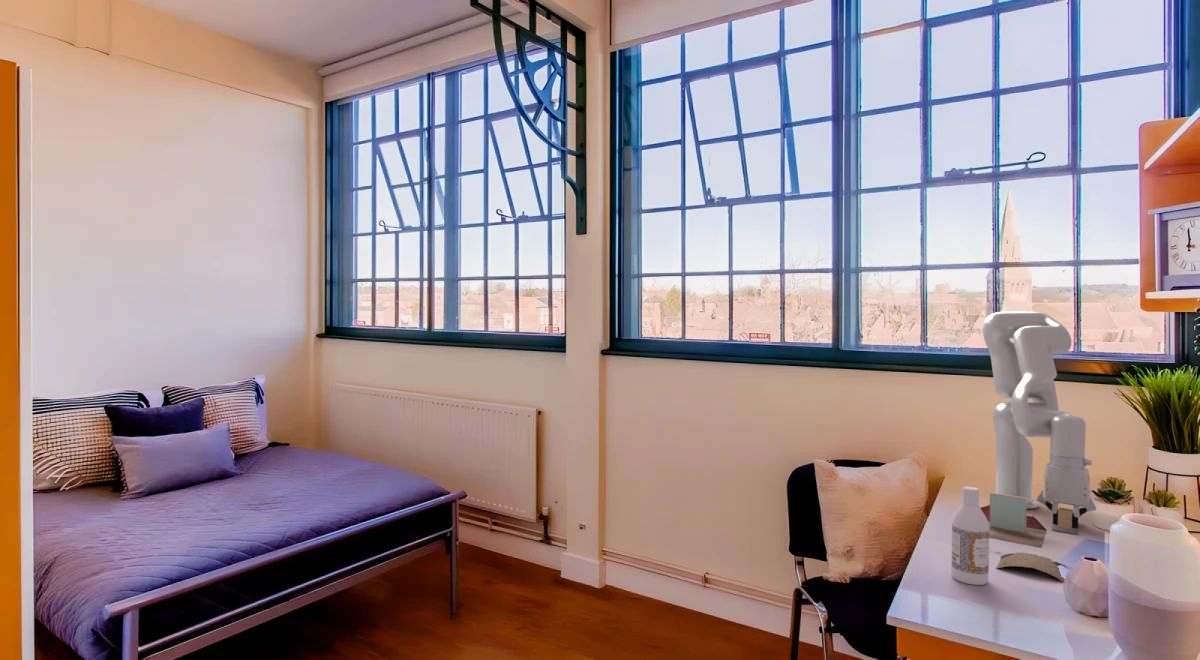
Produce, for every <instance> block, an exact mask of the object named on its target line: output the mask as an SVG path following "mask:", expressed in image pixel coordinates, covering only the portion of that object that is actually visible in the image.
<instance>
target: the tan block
mask: <svg viewBox="0 0 1200 660" xmlns="http://www.w3.org/2000/svg"><path fill="white" fill-rule="evenodd" d="M1073 512H1074V509H1073V508H1068V507H1062V506H1058V525H1056V524H1052V526H1051V531H1055V532H1061V533H1062V532H1063V533H1067V534H1073V535H1077V528H1072V515H1073Z"/></svg>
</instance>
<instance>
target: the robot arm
mask: <svg viewBox="0 0 1200 660" xmlns="http://www.w3.org/2000/svg"><path fill="white" fill-rule="evenodd" d="M982 336H983V340H984V342H985V346H986V348H987V350H988V352H989V354H990V360H991V368H992V376H993V383H994V388H995V391H996V392H995V393H996V394H997V395H998V396H1000V397H1002V398H1004V399H1006V398H1007V399H1011V401H1010V402H1009V401H1008V402H1006V401H1005V402H1002V403H999V404H997V405H996V406H995V407H994V409H993V411H992V419H993V420H992V421H993V424H994V431H995V452H996V454H995V493H1000V494H1006V495H1013V496H1019V497H1026V498H1027V503H1026V510H1027V509H1028V510H1030V509H1036V508H1038V507H1039V503H1041V504H1042V505H1044V506H1046V507H1047V508H1048V510H1049V511H1050V512H1051V513H1052V525H1056V526H1058V509H1059V504H1063V505H1070V506H1073V508H1072V509H1073V515H1072V528H1073V529H1078V528H1079V517H1081V516H1082V515H1084V514H1086V513H1088V512H1092V511H1096V510H1097V506H1096V504H1095V503H1094V501H1093V499H1092V498H1091V481H1090V480H1091V479H1090V478H1091V477H1090V472H1089V468H1088V467H1086V466H1092V459H1088V458H1087V457H1086V432H1087V431H1086V428H1087V427H1086V426H1087V424H1086V423H1087V422H1086V420H1085V419H1084V418H1082V417H1079V416H1074V415H1072V414H1071V413H1069V412H1066V411H1061V410H1060V408H1059V402H1058V396H1057V390H1056V385H1055V380H1054V379H1056V378H1057V375H1058V373H1057V369H1056V365H1055V362H1054V356H1053V355H1063V354H1066V353H1068V352H1069V351H1070V350H1071V347H1072V337H1071V334H1070V332H1069V331H1068V329H1067V328H1066V327H1065V326H1064V325H1063V324H1061V323H1060V322H1059V321H1057V319H1055V318H1053V317H1052V316H1050V315H1049V314H1047V313H1045V312H1040V311H998V312H994V313H991V314H989V315H988V316H987V317H986V318H985V319H984V322H983V326H982ZM1010 339H1012V340H1013V342H1012V341H1011V340H1010ZM1028 399H1031V400H1032V402H1028V401H1029V400H1028ZM1027 437H1028V438H1049V439H1050V443H1049V445H1050V447H1049V451H1050V452H1049V462H1047V463H1046V466H1045V469H1044V475H1043V485H1042V490H1041V492H1040V493H1039V494H1038V496H1036V497H1037V498H1036V500H1034V499H1033V465H1034V464H1033V463H1034V461H1033V459H1034V458H1033V457H1034V456H1033V453H1034V452H1033V451H1034V450H1033V447H1032V445H1031V442H1030V441H1029V440H1028V439H1027ZM1038 502H1039V503H1038Z"/></svg>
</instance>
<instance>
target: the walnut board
mask: <svg viewBox="0 0 1200 660" xmlns="http://www.w3.org/2000/svg"><path fill="white" fill-rule="evenodd" d="M987 521H988V525H989V539H993V540H999V541H1004V542H1007V543H1008V542H1010V543H1015V544H1020V545H1025V546H1029V547H1035V548H1040V549H1041V548H1042V547H1043V543H1044V539H1045V536H1046V534H1047V533H1046V532H1047V531H1046V530H1043V529H1037V528H1031V527H1027V526H1026V533H1022V532H1016V531H1011V530H1005V529H1000V528H994V527H990V520H987Z"/></svg>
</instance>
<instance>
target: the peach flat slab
mask: <svg viewBox="0 0 1200 660" xmlns="http://www.w3.org/2000/svg"><path fill="white" fill-rule="evenodd" d="M1026 503H1027V498H1026V497H1019V496H1013V495H1006V494H1000V493H996V492H990V493H989V521H990V527H994V528H1000V529H1005V530H1011V531H1016V532H1022V533H1026V527H1027V509H1026Z"/></svg>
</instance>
